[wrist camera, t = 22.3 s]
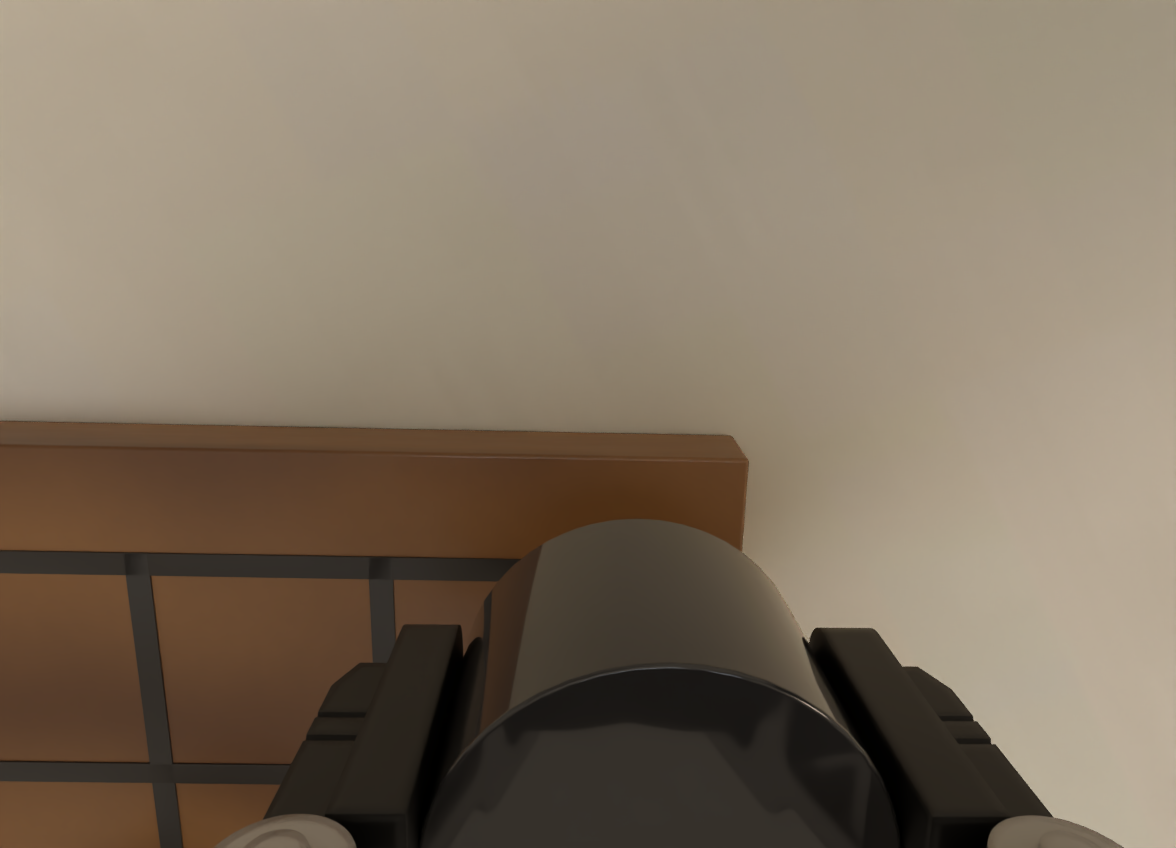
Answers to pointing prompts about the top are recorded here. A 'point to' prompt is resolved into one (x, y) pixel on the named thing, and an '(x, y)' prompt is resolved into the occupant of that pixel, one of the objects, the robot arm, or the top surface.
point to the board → (262, 592)
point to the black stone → (648, 709)
